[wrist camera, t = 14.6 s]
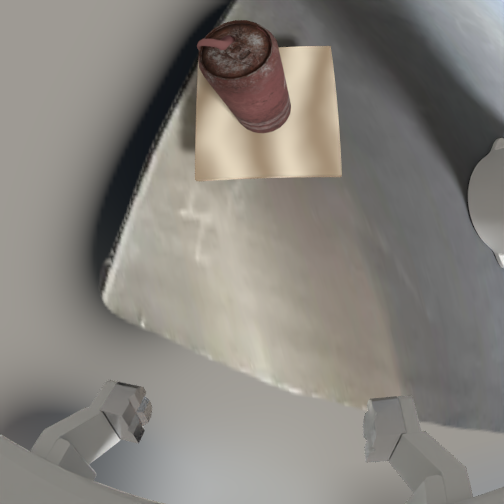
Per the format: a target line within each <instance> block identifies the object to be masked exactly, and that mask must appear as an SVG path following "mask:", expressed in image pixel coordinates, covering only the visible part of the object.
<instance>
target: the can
mask: <svg viewBox="0 0 504 504" xmlns="http://www.w3.org/2000/svg"><path fill="white" fill-rule="evenodd" d="M197 48H198V50H199V57H198V62H199V69H200V71H201V72H202V74H203V76H204V77H205V79H206V80H207V81H208V82H209V84H210V85H211V86H212V87H213V89H214V90H215V91H216V93H217V94H218V95H219V96H220V98H221V99H222V100H223V102H224V103H225V104H226V105H227V107H228V108H229V109H230V111H231V112H232V113H233V114H234V116H235V117H236V118H237V120H238V121H239V122H240V124H241V125H243V126H244V127H245V128H246V129H248V130H250V131H252V132H255V133H268V132H273V131H274V130H276V129H278V128H280V127H281V126H282V125H283V124H284V123H285V122H286V121H287V119H288V117H289V115H290V111H291V103H290V98H289V93H288V88H287V84H286V79H285V74H284V70H283V65H282V61H281V57H280V52H279V48H278V44H277V40H276V39H275V38H274V36H273V35H272V34H271V32H269V31H268V30H266V29H265V28H264V27H262V26H260V25H259V24H257V23H254V22H251V21H247V20H235V21H231V22H227V23H224V24H222V25H220V26H218V27H216V28H214V29H213V30H212V31H211V32H210V33H209V34H207V35H206V37H205V38H204V39H202V40H200V41H199V42H198V44H197Z"/></svg>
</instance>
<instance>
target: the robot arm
mask: <svg viewBox="0 0 504 504" xmlns="http://www.w3.org/2000/svg"><path fill="white" fill-rule="evenodd" d="M468 206H469V212H470V216H471V220H472V223H473V225H474V227H475V230H476V231H477V233H478V235H479V236H480V238H481V239H482V240H483V241H484V243H485V244H486V245H488V246H489V247H490V248H491V249H492V250H493V252H494V254H495V256H496V259H497V261H498V263H499V265H500V266H501V267H502V268H504V138H499V139H496V140H495V142H494V144H493V146H492V148H491V151H490V153H489V154H488V155H487V156H485V157H484V158H483V159H482V160H481V161H480V162H479V163H478V164H477V165H476V167H475V169H474V171H473V173H472V175H471V178H470V182H469V188H468ZM145 394H146V391H145V389H144V388H143V387H141V386H136V385H131V384H126V383H122V382H117V381H113V380H108V381H106V382H105V383H104V385H103V386H102V388H101V390H100V391H99V393H98V394H97V396H96V397H95V399H94V400H93V402H92V404H91V405H90V407H89V408H88V407H85V408H84V409H82V410H80V411H78V412H76V413H74V414H73V415H71V416H69V417H67V418H65V419H63V420H61V421H60V422H58V423H56V424H54V425H52V426H50V427H48V428H46V429H45V430H43V432H42V433H41V435H40V437H39V438H38V440H37V441H36V443H35V444H34V446H33V447H32V449H31V450H30V451H29V450H27V449H25V448H23V447H21V446H19V445H18V444H16V443H14V442H12V441H11V440H9V439H8V438H6V437H4V436H3V435H1V434H0V504H164V503H160V502H157V501H153V500H149V499H146V498H142V497H139V496H136V495H132V494H129V493H126V492H123V491H120V490H117V489H114V488H111V487H109V486H106V485H103V484H100V483H98V482H95V481H94V479H95V477H96V472H95V471H94V470H93V469H92V468H91V467H90V465H89V464H90V463H91V462H93V461H94V460H95V459H97V458H98V457H99V456H101V455H102V454H103V453H104V452H106V451H107V450H108V449H110V448H111V447H112V446H114V445H115V444H116V443H117V442H119V441H120V439H122V440H127V441H130V442H135V443H139V442H140V440H141V437H142V436H143V433H144V427H143V426H144V425H145V424H146V423H148V422H149V420H150V418H151V413H152V405H151V402H150V400H149V399H147V398H146V397H145ZM367 407H368V411H367V412H366V413H365V416H364V422H363V434H364V438H365V439H366V440H367V441H366V444H365V458H366V462H379V461H389V463H390V464H391V465H392V467H393V468H394V469H395V470H396V471H397V473H398V474H399V475H400V477H401V478H402V479H403V480H404V481H405V483H406V484H407V485H408V486H409V488H410V489H411V490H412V491H413V495H412V496H411V497H410V498H409V499H408V500H407V501H406V503H405V504H504V487H502V488H499V489H496V490H494V491H491V492H488V493H485V494H482V495H479V496H476V497H473V495H472V490H471V486H470V481H469V478H468V473H467V469H466V467H465V466H464V465H463V464H462V463H461V462H460V461H458V460H457V459H456V458H455V457H454V456H453V455H452V454H450V453H449V452H448V451H447V450H446V449H445V448H444V447H442V446H441V445H440V444H439V443H438V442H437V441H436V440H435V439H434V438H432V437H431V436H430V435H429V434H428V433H427V432H426V431H421V428H420V424H419V420H418V416H417V412H416V408H415V404H414V400H413V397H412V396H411V395H408V396H398V397H397V396H395V397H385V398H374V399H369V401H368V405H367Z"/></svg>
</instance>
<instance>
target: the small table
mask: <svg viewBox="0 0 504 504" xmlns="http://www.w3.org/2000/svg"><path fill="white" fill-rule="evenodd" d="M279 52H280V57H281V61H282V65H283V70H284V74H285V79H286V84H287V88H288V93H289V98H290V103H291V111H290V115H289V117H288V119H287V121H286V122H285V123H284V124H283V125H282V126H281V127H280V128H278V129H276V130H274V131H273V132H268V133H255V132H252V131H250V130H248V129H246V128H245V127H244V126H243V125H241V124H240V122H239V121H238V120H237V118H236V117H235V116H234V114H233V113H232V112H231V111H230V109H229V108H228V107H227V105H226V104H225V103H224V102H223V100H222V99H221V98H220V96H219V95H218V94H217V93H216V91H215V90H214V89H213V87H212V86H211V85H210V84H209V82H208V81H207V80H206V79H205V77H204V76H203V74H202V72H201V71H200V69H199V62H198V75H197V100H196V138H195V180H196V181H212V180H230V179H252V178H284V177H341V176H342V170H341V151H340V134H339V121H338V108H337V97H336V87H335V78H334V69H333V61H332V53H331V46H301V47H279Z"/></svg>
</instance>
